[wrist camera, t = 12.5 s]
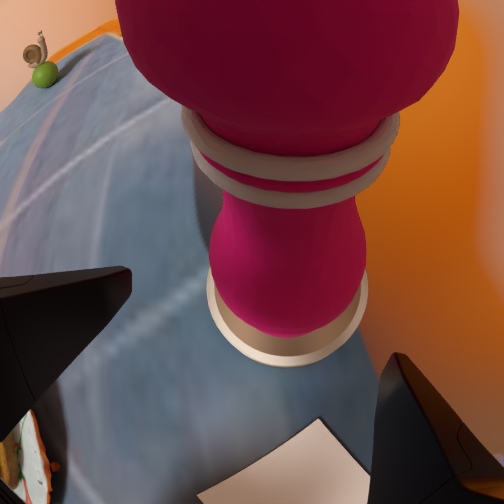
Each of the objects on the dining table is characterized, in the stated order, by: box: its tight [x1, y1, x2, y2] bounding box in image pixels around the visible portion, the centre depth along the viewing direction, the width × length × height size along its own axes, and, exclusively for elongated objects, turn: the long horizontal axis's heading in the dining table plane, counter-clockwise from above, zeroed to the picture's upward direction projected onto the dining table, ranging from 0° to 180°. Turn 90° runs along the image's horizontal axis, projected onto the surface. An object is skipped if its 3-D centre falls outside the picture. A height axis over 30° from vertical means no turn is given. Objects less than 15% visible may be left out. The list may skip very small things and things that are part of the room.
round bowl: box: [207, 267, 368, 368], centre depth 20 cm, size 10×10×3 cm
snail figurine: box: [23, 31, 58, 88], centre depth 36 cm, size 5×6×12 cm
